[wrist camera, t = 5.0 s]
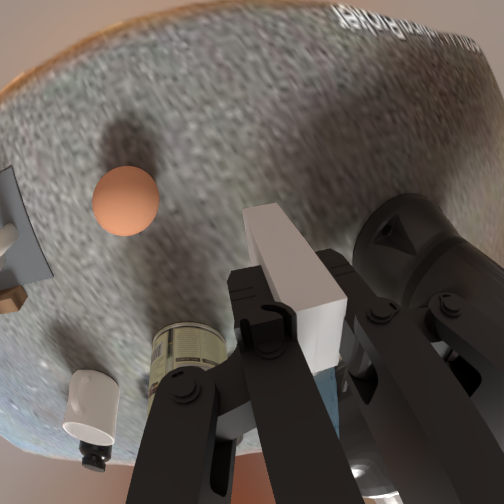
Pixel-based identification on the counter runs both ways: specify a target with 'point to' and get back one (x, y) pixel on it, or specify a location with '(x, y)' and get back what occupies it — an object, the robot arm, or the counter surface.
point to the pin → (2, 261)
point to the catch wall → (12, 299)
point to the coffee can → (185, 352)
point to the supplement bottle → (95, 455)
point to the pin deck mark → (19, 239)
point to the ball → (125, 200)
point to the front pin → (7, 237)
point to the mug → (92, 407)
